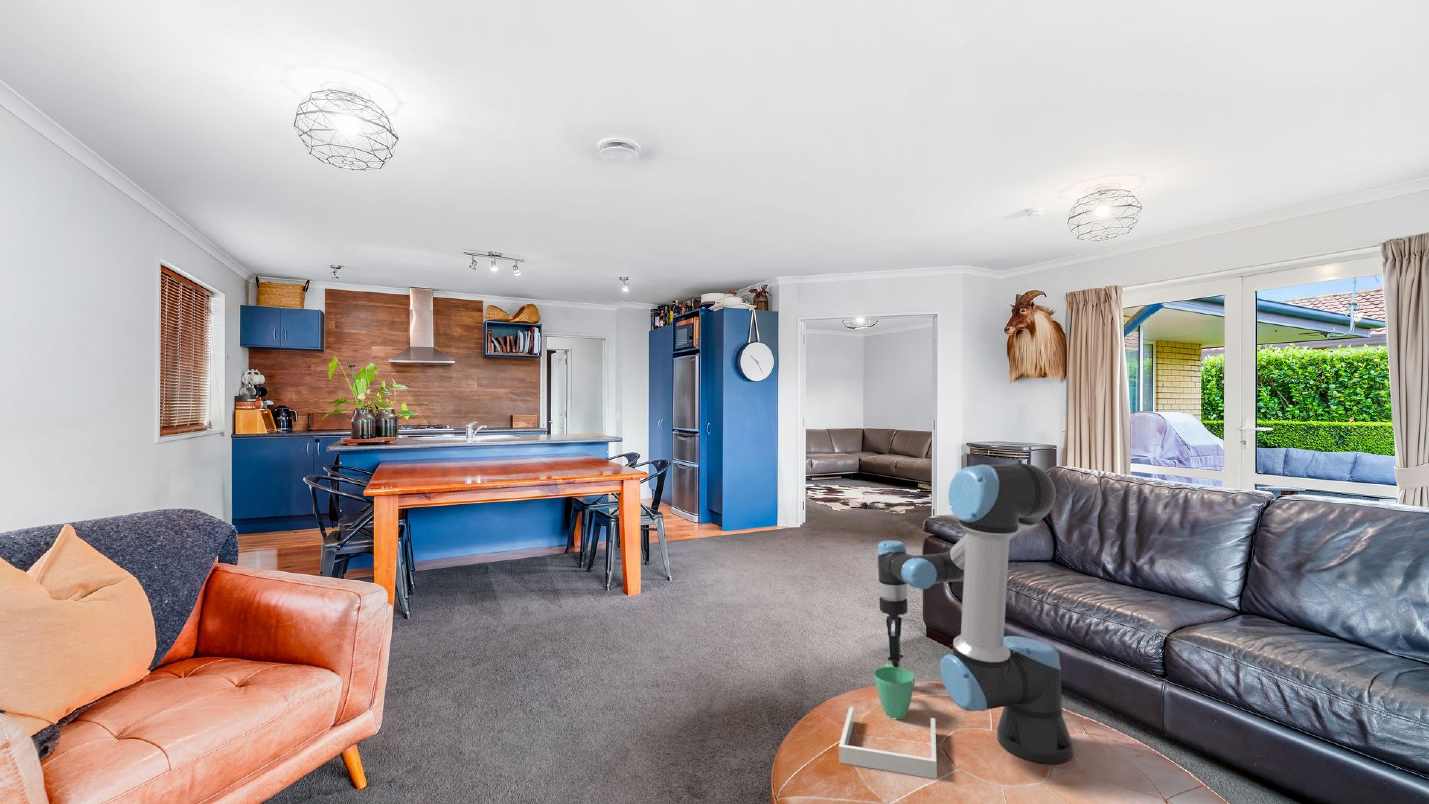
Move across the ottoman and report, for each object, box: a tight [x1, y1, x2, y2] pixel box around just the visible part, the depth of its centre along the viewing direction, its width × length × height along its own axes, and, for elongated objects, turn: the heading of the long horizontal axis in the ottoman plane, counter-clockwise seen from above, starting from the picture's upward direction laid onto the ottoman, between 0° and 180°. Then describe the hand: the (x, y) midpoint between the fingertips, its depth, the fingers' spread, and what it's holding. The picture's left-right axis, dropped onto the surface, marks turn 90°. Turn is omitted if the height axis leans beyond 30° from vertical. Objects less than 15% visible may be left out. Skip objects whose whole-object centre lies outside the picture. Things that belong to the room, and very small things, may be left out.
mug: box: [873, 662, 915, 720], centre depth 152 cm, size 15×10×10 cm
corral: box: [838, 706, 938, 780], centre depth 135 cm, size 20×19×4 cm
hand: (896, 682), depth 165 cm, fingers closed
